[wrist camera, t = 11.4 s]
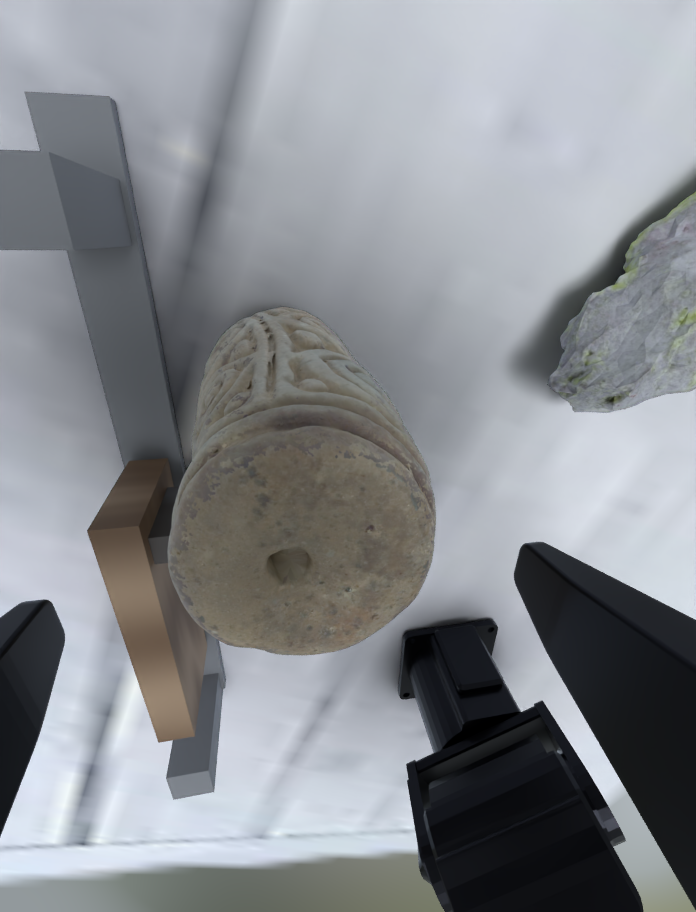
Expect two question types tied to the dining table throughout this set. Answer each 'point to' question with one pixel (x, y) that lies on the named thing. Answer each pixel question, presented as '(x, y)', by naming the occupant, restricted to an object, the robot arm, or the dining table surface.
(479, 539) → the dining table surface
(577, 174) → the dining table surface
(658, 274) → the rock
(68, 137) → the grey bracket bar
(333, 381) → the carving
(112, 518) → the brown boxy piece
